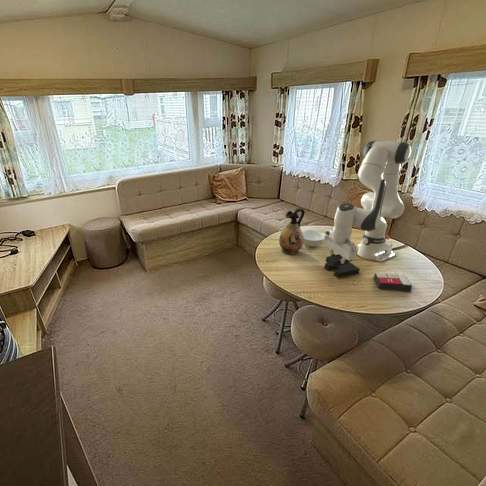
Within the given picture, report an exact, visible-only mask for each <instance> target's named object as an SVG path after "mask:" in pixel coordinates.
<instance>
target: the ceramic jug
mask: <svg viewBox="0 0 486 486" xmlns="http://www.w3.org/2000/svg"><path fill="white" fill-rule="evenodd" d="M299 212H300V215H299V214H298V213H299ZM304 217H305V210H304V209H303V207H302V208H301V207H298V208H296V209H295V210H294V212H292V211H291V210H289V211H287V212H286V213H285V218H287V219H290V221H289V222H288V223H287V225H286V226H285V227H284V228H283V229H282V231H281V232H280V234H279V239H278V244H279V246H280V248H281V249H282V252H283V253H285V254H287V255H295V254H297V253H298V251H299V250H301V249H302V247H303V245H304V244H303V243H304V236H303V233H302V229H301V223H302V221H303V219H304Z"/></svg>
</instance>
